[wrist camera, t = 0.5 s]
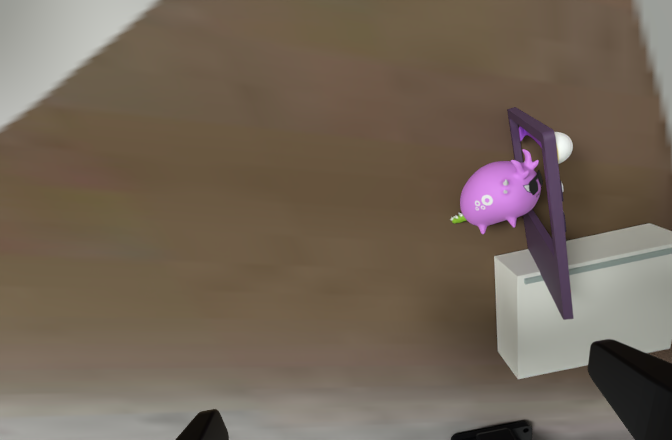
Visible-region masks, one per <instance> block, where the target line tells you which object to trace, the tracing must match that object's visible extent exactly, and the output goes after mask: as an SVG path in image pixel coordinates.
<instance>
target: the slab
mask: <svg viewBox="0 0 672 440" xmlns="http://www.w3.org/2000/svg"><path fill="white" fill-rule="evenodd" d="M566 247H567V257H568V268H569V278H570V288H571V298H572V308H573V319H566V320H563V318H562V316H561V314H560V312H559V310H558V308H557V306H556V304H555V302H554V300H553V298H552V296H551V294H550V292H549V290H548V288H547V286H546V284H545V282H544V280H543V278H542V276H541V274H540V271H539V269H538V267H537V265H536V263H535V261H534V259H533V257H532V255H531V253H530V251H529V250H528V249H526V250H521V251H517V252H512V253H507V254H503V255H498V256H494V262H495V290H496V318H497V346H498V352H499V354H500V355H501V357H502V358H503V359H504V361H505V362H506V363H507V365H508V366H509V368H510V369H511V370H512V372H513V373H514V375H515V376H516V377H517V379H522V378H527V377H532V376H536V375H541V374H546V373H551V372H556V371H561V370H566V369H571V368H576V367H581V366H586V365H588V361H589V353H590V346H591V344H592V343H593V342H595V341H600V340H605V339H612V340H616V341H618V342H621V343H623V344H626V345H628V346H630V347H633V348H635V349H638V350H640V351H642V352H645V353H650V352H655V351H660V350H665V349H670V346H671V341H672V231H670V230H667V229H664V228H662V227H659V226H656V225H653V224H651V223H648V224H644V225H639V226H634V227H629V228H625V229H620V230H615V231H611V232H606V233H601V234H597V235H592V236H587V237H582V238H578V239H573V240H568V241H566Z"/></svg>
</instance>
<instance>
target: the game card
mask: <svg viewBox="0 0 672 440" xmlns="http://www.w3.org/2000/svg"><path fill="white" fill-rule="evenodd" d="M507 111H508V118H509V124H510V131H511V138H512V144H513V151H514V158H515V160H511V161H499V162H493V163H490V164H487V165H485V166H483V167H482V168H480V169H479V170H477V171H476V172H475V173H474V174H473V175H472V176H471V177H470V178H469V180H468V181H467V183H466V184H465V186H464V188H463V190H462V193H461V198H460V207H461V211H462V214H461V213H459V212H458V213H459V215H458V216H456V215H455V216H456V217H455V216H454V217H453V218H452V217H451V218H452V219H450V220H452V222H453V223H461V222H463V221H468V222H470V223H471V224H473V225H476V226H478V227H479V229H480V232H481V233H482V234H484V233H485V231H486V228H487V226H489V225H492V224H495V223H499V222H502V221H505V220H508V221H509V223H510V224H511V225H512V226H513V227H515V226H516V219H517V218H518V217H520V216H522V215H523V218H524V225H525V232H526V238H527V245H528V250H529V251H530V253H531V255H532V257H533V259H534V261H535V263H536V265H537V267H538V269H539V271H540V274H541V276H542V278H543V280H544V282H545V284H546V286H547V288H548V290H549V292H550V294H551V296H552V298H553V300H554V302H555V304H556V306H557V308H558V310H559V312H560V314H561V316H562V318H563V320H566V319H573V308H572V298H571V288H570V278H569V268H568V257H567V247H566V237H565V232H566V223H565V215H564V212H563V207H562V201H563V184H562V183H561V181H560V176H559V166H558V164H560V163H562V162H564V161H565V160H566V159H567V158H568V157H569V156H570V155H571V153H572V150H573V143H572V141H571V139H570V138H569V137H568V136H567V135H566V134H564V133H560V132H554V131H553V129H551V128H549V127H548V126H546V125H544V124H543V123H541V122H539V121H538V120H536V119H534V118H533V117H531V116H529V115H528V114H526V113H524V112H523V111H521V110H519V109H518V108H516V107H514V108H511V109H507ZM518 125H519V126H520V127H519V128H518ZM518 129H519V130H518ZM525 135H528V136H530V137H531V138H533V139H534V140H535V141H536V142H537V143H538V144H539V146H540V147H541V148H542V153H543V162H544V170H545V179H546V187H547V196H548V205H549V213H550V222H551V231H552V238H551V237H550V235H549V234H548V232H547V231H546V229H545V228H544V226H543V225H542V223H541V221H540V220H539V218H538V217H537V215H536V214H535V212H534V211H533V209H532V208H533V207H534V206H535V205H536V203H537V201H538V198H539V196H540V192H541V186H542V184H543V180H542V176H541V173H540V171H539V170H538V173H536V172H535V171H534V168H535V167H536V166H537V165H538V163H539V161H538V160H536V161H534V162H532V160H531V155H530V153H529V152H528V151H527V150H525V149H523V150H522V151H523V152H524V154H525V162H523V158H522V151H521V144H520V141H522V139H523V138H524V136H525ZM519 136H520V137H519ZM552 239H553V240H552Z"/></svg>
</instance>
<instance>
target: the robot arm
mask: <svg viewBox="0 0 672 440" xmlns="http://www.w3.org/2000/svg"><path fill="white" fill-rule="evenodd" d="M588 372H589V375H590V377H591V378H592V380H593V382H594V383H595V384H596V386H597V387H598V389H599V390H600V391H601V393H602V394H603V396H604V397H605V398H606V400H607V401H608V403H609V404H610V405H611V407H612V408H613V410H614V411H615V412H616V414H617V415H618V417H619V418H620V419H621V421H622V422H623V424H624V425H625V426H626V428H627V429H628V431H629V432H630V433H631V435H632V436H633V438H634V439H635V440H672V364H671V363H669V362H666V361H664V360H662V359H659V358H657V357H654V356H652V355H650V354H647V353H645V352H642V351H640V350H638V349H635V348H633V347H630V346H628V345H626V344H623V343H621V342H618V341H616V340H612V339H605V340H600V341H595V342H593V343H592V344H591V346H590V353H589V361H588ZM176 440H229V436H228V431H227V429H226V426H225V424H224V422H223V419H222V417H221V415H220V413H219V411H218V410H216V409H212V410H207V411H202V412H200V413H198V414H197V415H196V416H195V418H194V419H193V420H192V421H191V422H190V423H189V425H188V426H187V427H186V428H185V429H184V430H183V432H182V433H181V434H180V435H179V436H178V437H177V439H176ZM451 440H532V428H531V426H530V425H529V423H528V422H526V421H523V422H518V423H513V424H508V425H503V426H498V427H493V428H488V429H483V430H478V431H473V432H468V433H463V434H458V435H454V436H453V437H452V438H451Z"/></svg>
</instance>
